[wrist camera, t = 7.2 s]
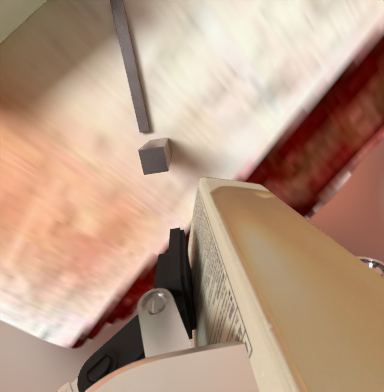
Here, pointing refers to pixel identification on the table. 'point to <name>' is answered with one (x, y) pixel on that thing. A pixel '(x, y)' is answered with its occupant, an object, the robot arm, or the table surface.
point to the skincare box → (283, 293)
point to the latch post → (139, 98)
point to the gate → (15, 14)
